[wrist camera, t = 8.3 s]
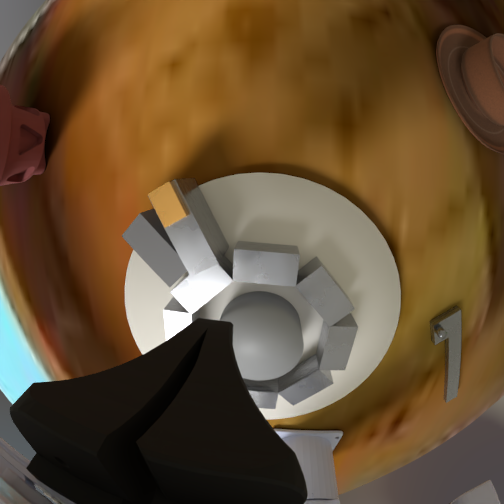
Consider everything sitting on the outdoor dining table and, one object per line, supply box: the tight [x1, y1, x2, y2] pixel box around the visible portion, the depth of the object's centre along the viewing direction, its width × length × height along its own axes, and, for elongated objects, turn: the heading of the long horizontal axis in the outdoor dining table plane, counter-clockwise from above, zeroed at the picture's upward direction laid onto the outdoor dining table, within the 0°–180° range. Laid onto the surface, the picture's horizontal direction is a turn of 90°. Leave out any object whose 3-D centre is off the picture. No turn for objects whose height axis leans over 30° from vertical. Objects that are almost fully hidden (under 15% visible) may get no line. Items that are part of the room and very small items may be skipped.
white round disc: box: [122, 172, 401, 419], centre depth 19 cm, size 22×22×4 cm
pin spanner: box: [430, 306, 461, 403], centre depth 20 cm, size 13×3×2 cm, turn 25°
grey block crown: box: [148, 178, 358, 409], centre depth 17 cm, size 13×17×4 cm
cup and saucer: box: [436, 25, 504, 154], centre depth 11 cm, size 12×12×6 cm
